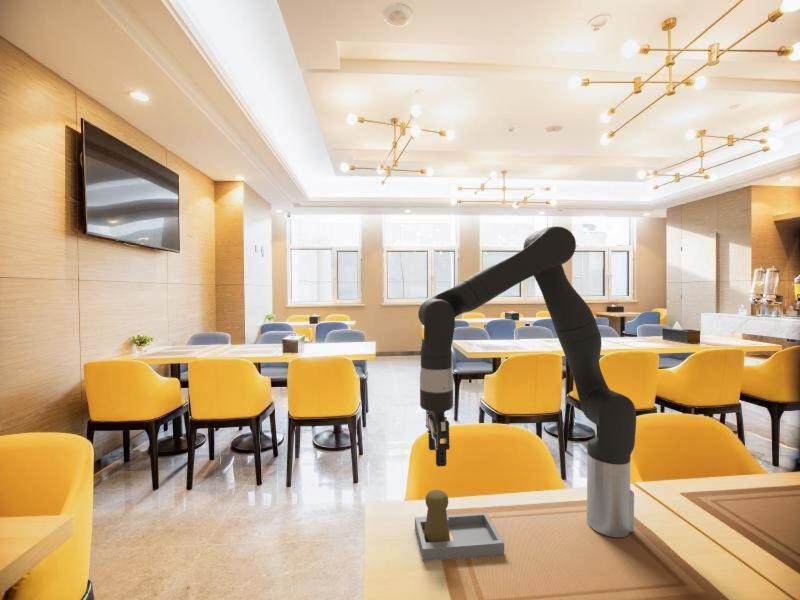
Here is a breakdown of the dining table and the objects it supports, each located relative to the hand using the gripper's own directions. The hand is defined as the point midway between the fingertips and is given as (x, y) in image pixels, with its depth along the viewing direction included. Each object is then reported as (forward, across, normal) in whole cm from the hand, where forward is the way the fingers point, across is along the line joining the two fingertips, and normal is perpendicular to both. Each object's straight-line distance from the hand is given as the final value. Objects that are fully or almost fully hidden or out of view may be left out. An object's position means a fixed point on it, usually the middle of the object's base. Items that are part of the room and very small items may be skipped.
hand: (437, 457), depth 86 cm
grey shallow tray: (+20, 0, -5) cm, 20 cm away
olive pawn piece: (+19, 0, 0) cm, 19 cm away
